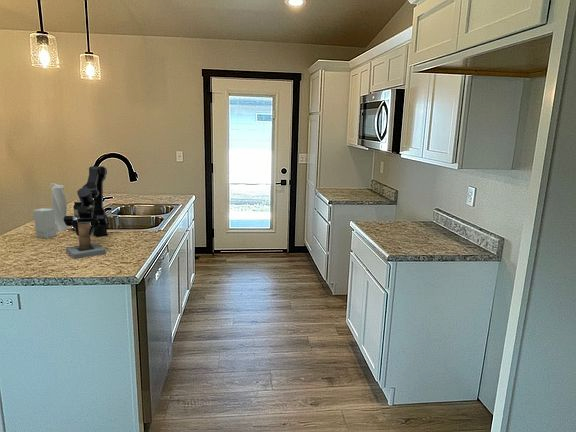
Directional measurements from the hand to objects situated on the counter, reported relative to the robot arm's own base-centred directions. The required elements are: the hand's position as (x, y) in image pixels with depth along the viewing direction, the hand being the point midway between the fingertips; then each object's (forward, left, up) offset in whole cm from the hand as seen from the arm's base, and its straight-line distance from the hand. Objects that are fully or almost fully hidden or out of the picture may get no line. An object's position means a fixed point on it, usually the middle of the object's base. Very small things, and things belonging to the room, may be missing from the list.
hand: (83, 235), depth 196 cm
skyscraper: (-2, -57, -9) cm, 58 cm away
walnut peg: (-1, -1, -7) cm, 7 cm away
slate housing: (-1, -1, -9) cm, 9 cm away
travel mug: (-12, -49, -9) cm, 51 cm away
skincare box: (+8, -44, -9) cm, 46 cm away
